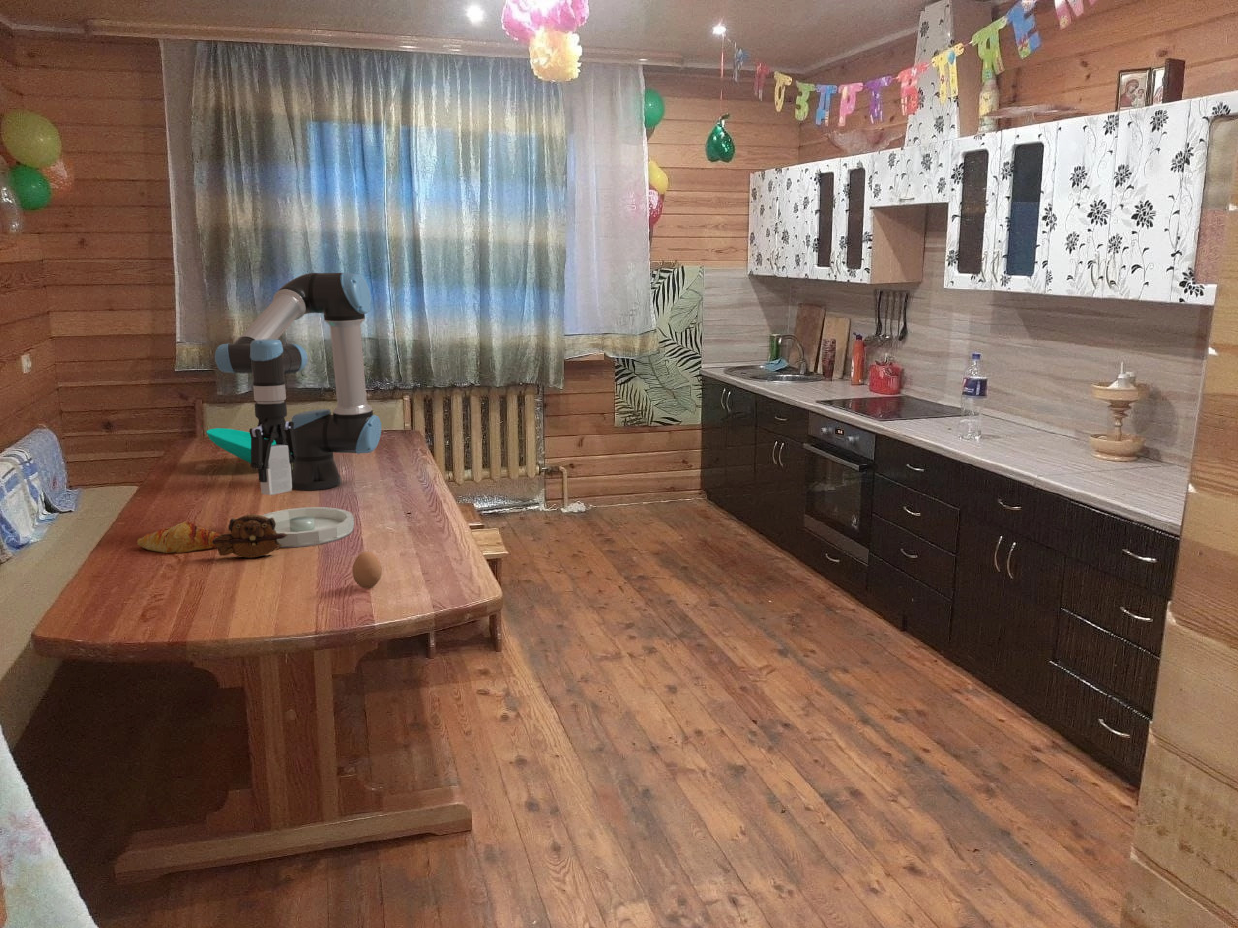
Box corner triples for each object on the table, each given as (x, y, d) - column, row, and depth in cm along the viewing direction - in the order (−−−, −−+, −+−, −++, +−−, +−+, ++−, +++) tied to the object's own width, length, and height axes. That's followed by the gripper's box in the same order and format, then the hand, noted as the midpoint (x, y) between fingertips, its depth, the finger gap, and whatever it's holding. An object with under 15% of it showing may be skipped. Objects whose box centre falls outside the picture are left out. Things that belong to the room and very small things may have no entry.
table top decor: (204, 479, 297) (200, 438, 294) (214, 461, 323) (210, 424, 320) (334, 471, 308) (331, 432, 306) (333, 455, 334) (331, 418, 332)
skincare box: (283, 489, 242) (279, 443, 239) (292, 491, 239) (288, 445, 237) (261, 493, 237) (257, 446, 235) (270, 495, 235) (266, 448, 232)
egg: (388, 586, 199) (386, 551, 197) (363, 594, 194) (361, 557, 193) (372, 580, 203) (370, 545, 201) (347, 587, 198) (345, 552, 196)
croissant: (134, 566, 223) (123, 542, 218) (148, 536, 231) (137, 513, 226) (225, 562, 225) (216, 539, 219) (235, 533, 232) (227, 509, 227)
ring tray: (295, 516, 254) (294, 503, 253) (373, 525, 245) (372, 512, 245) (228, 541, 231) (226, 527, 230) (310, 552, 222) (309, 538, 222)
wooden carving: (212, 563, 214) (208, 521, 212) (215, 557, 219) (211, 516, 217) (288, 557, 219) (285, 516, 217) (289, 551, 223) (286, 511, 221)
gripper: (284, 396, 244) (291, 481, 249) (229, 406, 226) (237, 498, 230) (308, 397, 241) (314, 484, 246) (254, 407, 223) (261, 500, 228)
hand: (276, 490), depth 238 cm, fingers closed on skincare box, 7 cm apart
